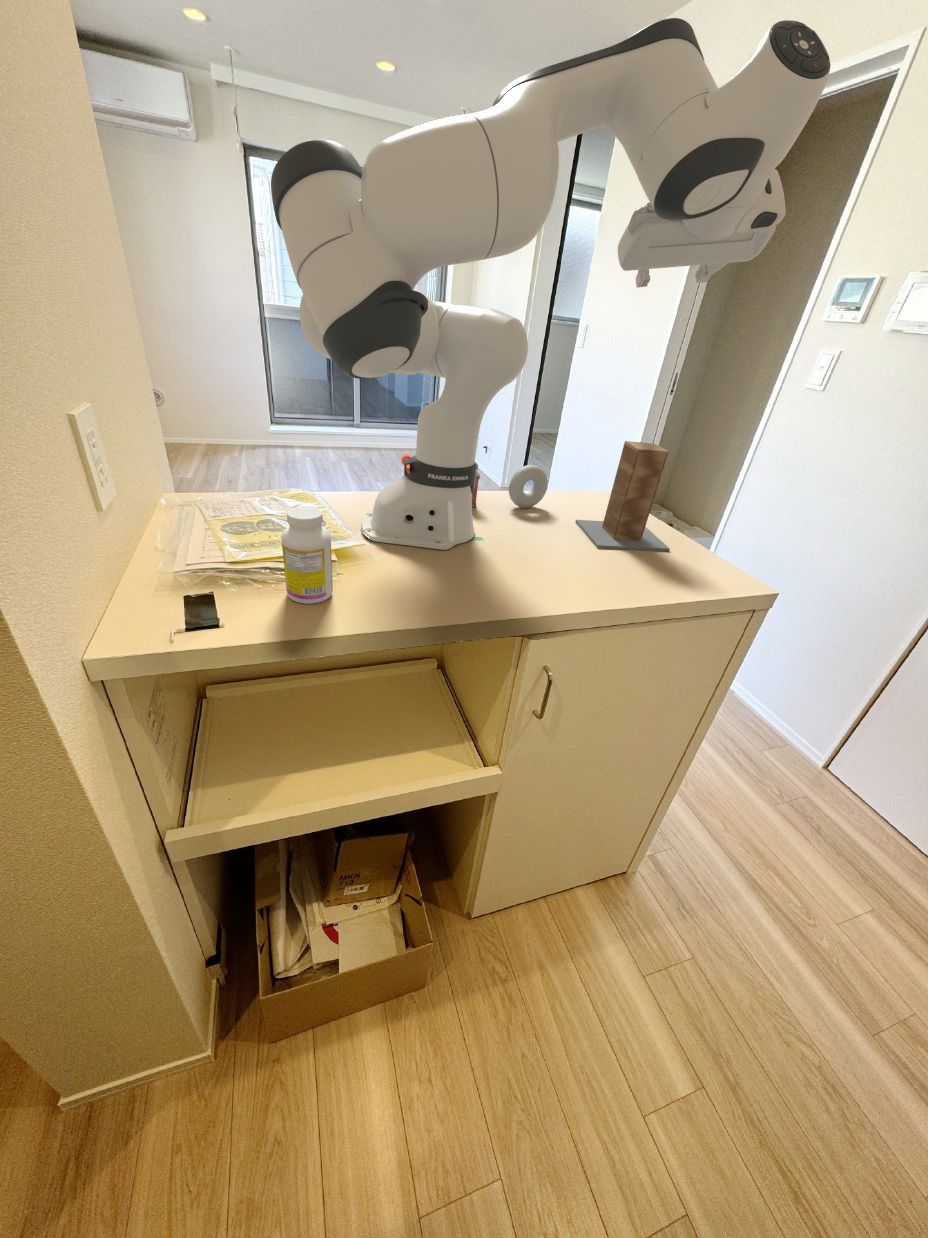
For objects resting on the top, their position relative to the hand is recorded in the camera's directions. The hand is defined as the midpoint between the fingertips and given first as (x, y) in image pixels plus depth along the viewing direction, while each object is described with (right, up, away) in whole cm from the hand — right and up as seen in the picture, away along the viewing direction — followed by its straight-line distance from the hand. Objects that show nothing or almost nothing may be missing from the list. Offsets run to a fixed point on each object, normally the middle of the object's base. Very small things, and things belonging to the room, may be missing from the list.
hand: (670, 280), depth 78 cm
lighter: (-31, -25, +40) cm, 57 cm away
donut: (-18, -26, +42) cm, 52 cm away
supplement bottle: (-55, -49, -2) cm, 73 cm away
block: (+2, -34, +32) cm, 47 cm away
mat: (+2, -34, +32) cm, 47 cm away
